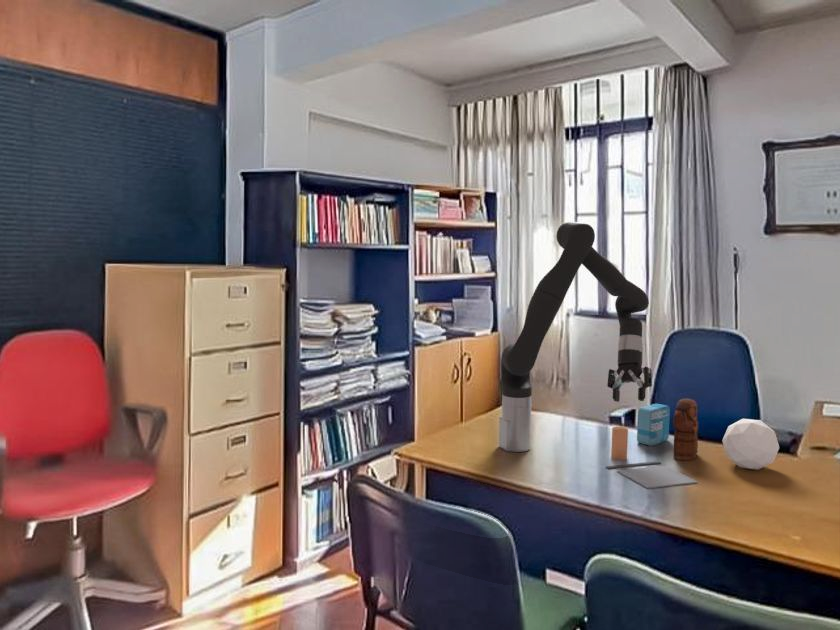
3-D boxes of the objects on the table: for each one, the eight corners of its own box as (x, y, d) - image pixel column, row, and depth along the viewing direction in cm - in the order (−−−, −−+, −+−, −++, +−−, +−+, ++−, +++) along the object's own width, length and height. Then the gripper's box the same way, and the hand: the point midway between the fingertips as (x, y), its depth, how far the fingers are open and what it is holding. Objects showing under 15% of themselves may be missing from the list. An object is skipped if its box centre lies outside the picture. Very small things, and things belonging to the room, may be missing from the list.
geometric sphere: (763, 486, 193) (798, 454, 185) (717, 469, 192) (750, 436, 183) (750, 450, 205) (782, 419, 196) (707, 434, 203) (737, 401, 195)
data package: (648, 446, 214) (650, 410, 213) (636, 443, 218) (637, 407, 217) (668, 440, 222) (670, 405, 221) (656, 437, 225) (658, 402, 224)
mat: (644, 489, 176) (644, 487, 176) (605, 467, 193) (605, 466, 193) (700, 482, 181) (700, 481, 181) (658, 462, 198) (658, 461, 198)
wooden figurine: (692, 463, 198) (695, 403, 196) (670, 459, 202) (672, 401, 200) (700, 453, 208) (703, 396, 206) (678, 449, 211) (681, 394, 210)
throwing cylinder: (616, 461, 200) (617, 431, 199) (608, 456, 204) (609, 427, 203) (629, 459, 201) (631, 430, 200) (621, 455, 205) (622, 426, 204)
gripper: (604, 350, 216) (602, 399, 212) (644, 346, 206) (643, 397, 201) (617, 355, 221) (615, 403, 216) (656, 351, 210) (655, 402, 206)
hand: (628, 400), depth 209 cm, fingers open, 8 cm apart
